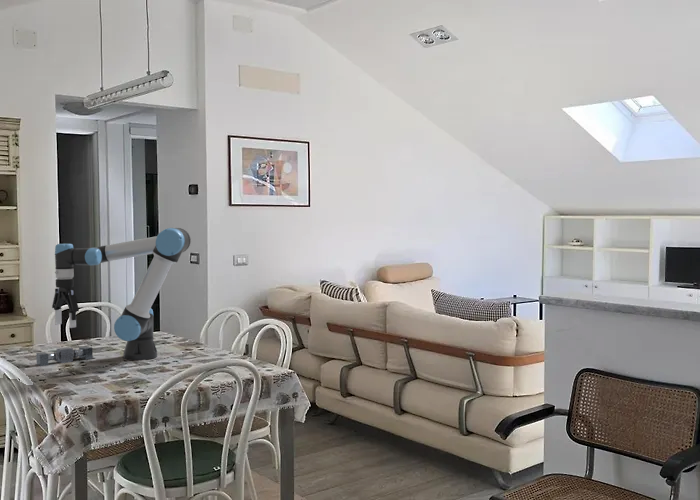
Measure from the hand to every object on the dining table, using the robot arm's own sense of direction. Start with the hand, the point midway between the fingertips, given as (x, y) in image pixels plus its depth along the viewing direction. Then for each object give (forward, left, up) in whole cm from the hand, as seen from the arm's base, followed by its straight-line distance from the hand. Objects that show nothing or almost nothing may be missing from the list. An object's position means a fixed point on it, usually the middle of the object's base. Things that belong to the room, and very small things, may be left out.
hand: (65, 325), depth 321 cm
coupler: (0, 0, -16) cm, 16 cm away
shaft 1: (+8, -1, -16) cm, 18 cm away
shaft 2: (-7, -1, -16) cm, 18 cm away
